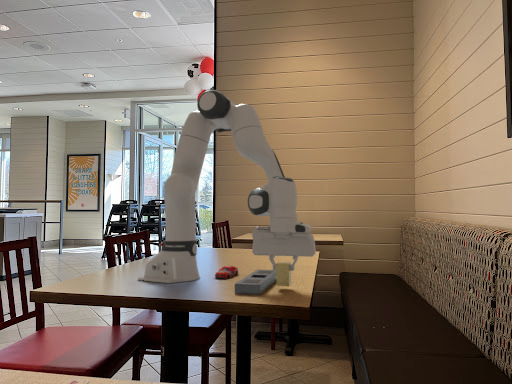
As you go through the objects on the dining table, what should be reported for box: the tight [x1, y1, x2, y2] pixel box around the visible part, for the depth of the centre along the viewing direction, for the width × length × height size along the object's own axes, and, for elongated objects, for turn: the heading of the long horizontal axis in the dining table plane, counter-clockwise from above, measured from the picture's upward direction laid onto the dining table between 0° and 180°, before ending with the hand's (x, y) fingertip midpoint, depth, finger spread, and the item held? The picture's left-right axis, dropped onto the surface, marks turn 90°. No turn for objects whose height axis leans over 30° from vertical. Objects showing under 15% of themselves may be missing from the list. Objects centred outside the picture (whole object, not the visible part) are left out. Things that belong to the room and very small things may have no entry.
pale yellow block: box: [276, 261, 292, 287], centre depth 120 cm, size 4×4×7 cm
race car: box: [214, 265, 239, 280], centre depth 144 cm, size 13×5×4 cm, turn 158°
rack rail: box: [234, 269, 277, 296], centre depth 127 cm, size 8×28×3 cm, turn 165°
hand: (283, 270), depth 120 cm, fingers closed on pale yellow block, 4 cm apart
